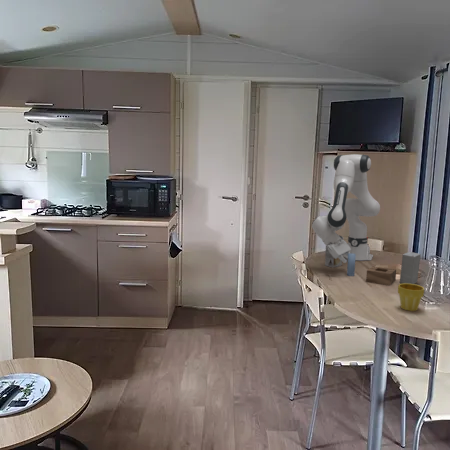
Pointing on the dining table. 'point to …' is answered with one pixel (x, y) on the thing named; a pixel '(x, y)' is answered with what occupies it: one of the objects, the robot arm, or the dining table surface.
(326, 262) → the coffee box
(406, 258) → the skincare box
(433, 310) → the dining table surface
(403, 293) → the plant pot
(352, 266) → the pin
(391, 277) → the socket block
